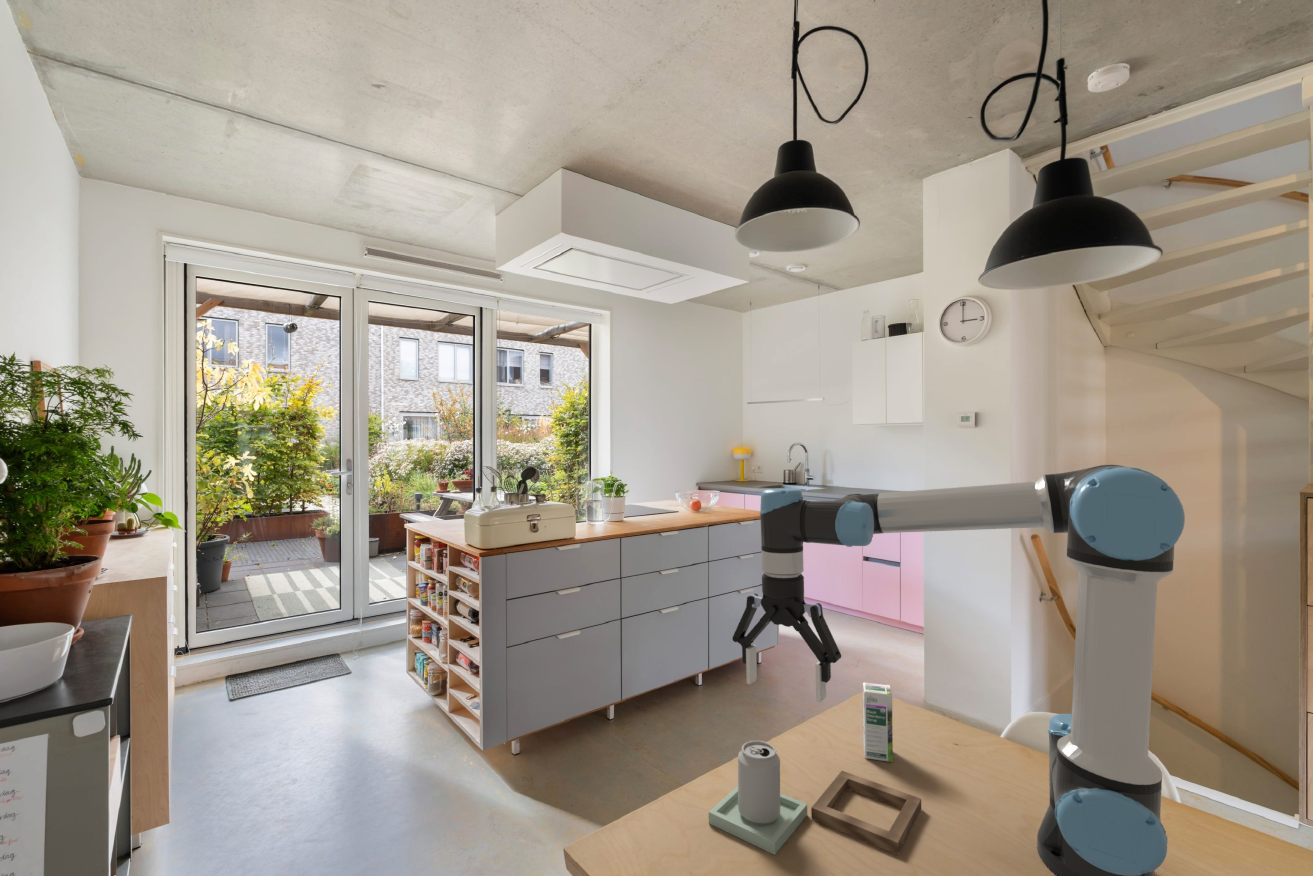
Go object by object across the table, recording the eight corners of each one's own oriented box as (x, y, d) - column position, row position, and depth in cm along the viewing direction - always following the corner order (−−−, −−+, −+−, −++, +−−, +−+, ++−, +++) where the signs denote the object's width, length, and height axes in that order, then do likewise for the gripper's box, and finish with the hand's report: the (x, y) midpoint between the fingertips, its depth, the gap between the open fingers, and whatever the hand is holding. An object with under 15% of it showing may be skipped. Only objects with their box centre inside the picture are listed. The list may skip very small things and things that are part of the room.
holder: (921, 809, 108) (921, 798, 108) (897, 855, 96) (897, 842, 96) (841, 780, 117) (841, 770, 117) (811, 818, 105) (811, 807, 105)
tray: (807, 815, 106) (807, 804, 106) (774, 855, 96) (774, 842, 96) (744, 789, 114) (744, 778, 114) (708, 823, 104) (708, 812, 104)
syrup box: (864, 759, 125) (864, 691, 125) (863, 745, 131) (862, 680, 131) (892, 763, 123) (892, 694, 123) (890, 749, 129) (890, 683, 129)
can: (780, 831, 101) (780, 761, 101) (736, 825, 102) (736, 757, 102) (780, 804, 108) (779, 739, 108) (739, 799, 110) (739, 735, 110)
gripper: (857, 577, 102) (860, 699, 102) (733, 562, 117) (735, 668, 117) (843, 586, 96) (846, 715, 96) (713, 569, 111) (715, 681, 111)
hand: (785, 690), depth 106 cm, fingers open, 13 cm apart
